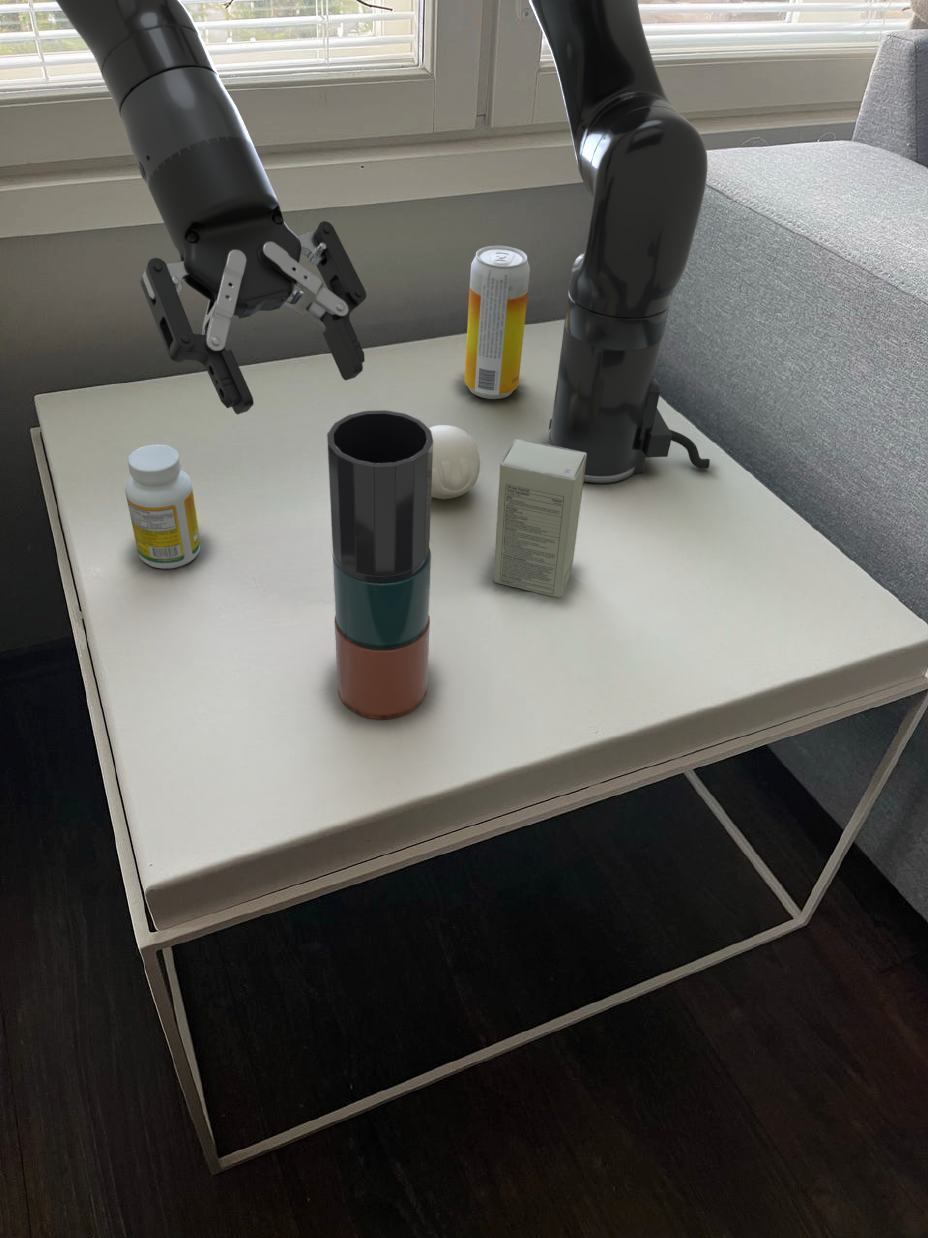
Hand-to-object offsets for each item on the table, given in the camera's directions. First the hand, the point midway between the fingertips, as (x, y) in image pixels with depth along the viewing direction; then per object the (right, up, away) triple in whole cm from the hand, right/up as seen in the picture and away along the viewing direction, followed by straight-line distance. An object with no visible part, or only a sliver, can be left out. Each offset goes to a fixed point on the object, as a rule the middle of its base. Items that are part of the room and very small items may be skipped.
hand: (302, 391), depth 66 cm
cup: (+5, -11, 0) cm, 12 cm away
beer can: (+14, +10, +43) cm, 47 cm away
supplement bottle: (-15, -10, +19) cm, 26 cm away
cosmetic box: (+17, -12, +19) cm, 28 cm away
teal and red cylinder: (+5, -21, +8) cm, 23 cm away
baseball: (+9, -3, +28) cm, 29 cm away
